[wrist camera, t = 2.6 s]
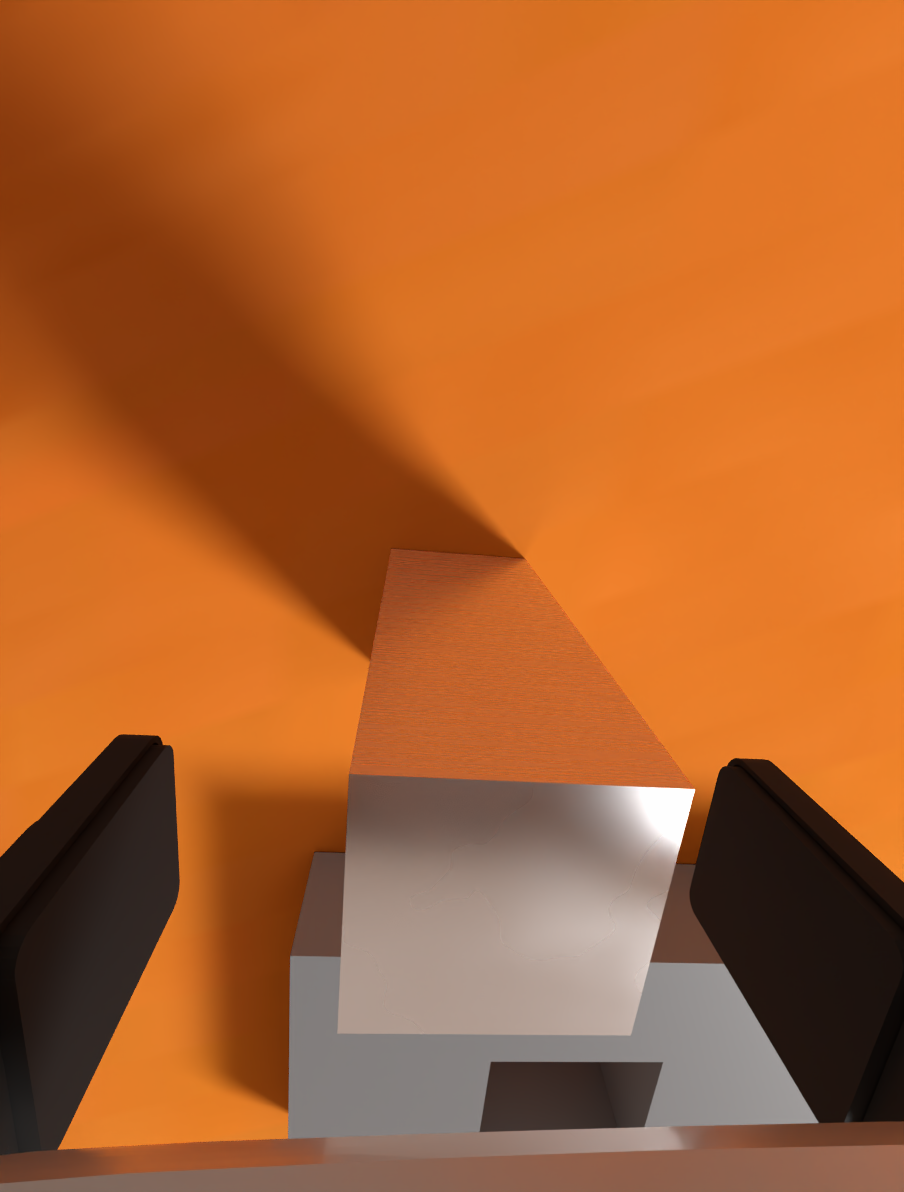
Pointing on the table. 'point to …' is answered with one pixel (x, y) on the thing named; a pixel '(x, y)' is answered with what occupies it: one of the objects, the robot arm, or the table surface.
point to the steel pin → (499, 816)
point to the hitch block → (533, 1049)
